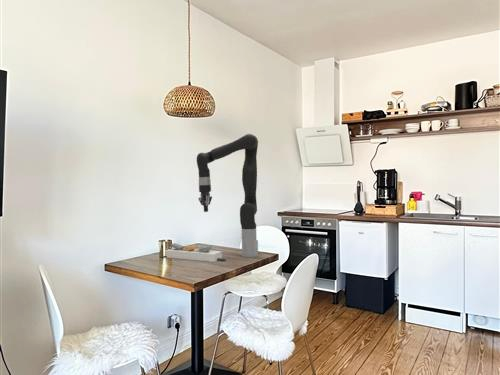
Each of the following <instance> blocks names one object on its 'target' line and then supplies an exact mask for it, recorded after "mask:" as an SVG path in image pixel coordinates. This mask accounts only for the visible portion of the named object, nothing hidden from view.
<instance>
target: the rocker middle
mask: <svg viewBox="0 0 500 375" xmlns="http://www.w3.org/2000/svg"><path fill="white" fill-rule="evenodd" d="M189 249H198V245H196V244H195V245H187V246H184V250H189Z"/></svg>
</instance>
